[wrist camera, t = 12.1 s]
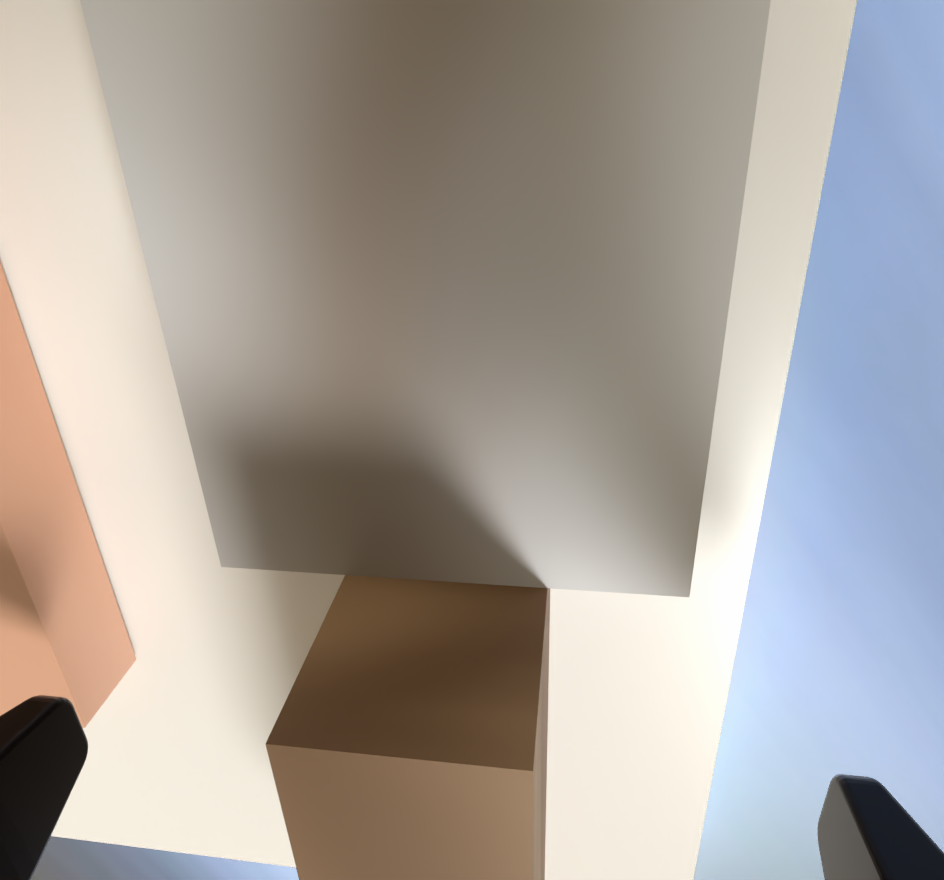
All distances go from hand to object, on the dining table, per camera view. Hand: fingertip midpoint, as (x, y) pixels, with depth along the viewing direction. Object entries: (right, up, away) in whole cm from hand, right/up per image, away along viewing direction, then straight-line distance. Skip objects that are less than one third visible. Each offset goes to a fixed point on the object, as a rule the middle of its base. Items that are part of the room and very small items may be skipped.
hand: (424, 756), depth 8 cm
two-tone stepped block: (0, +2, +2) cm, 3 cm away
